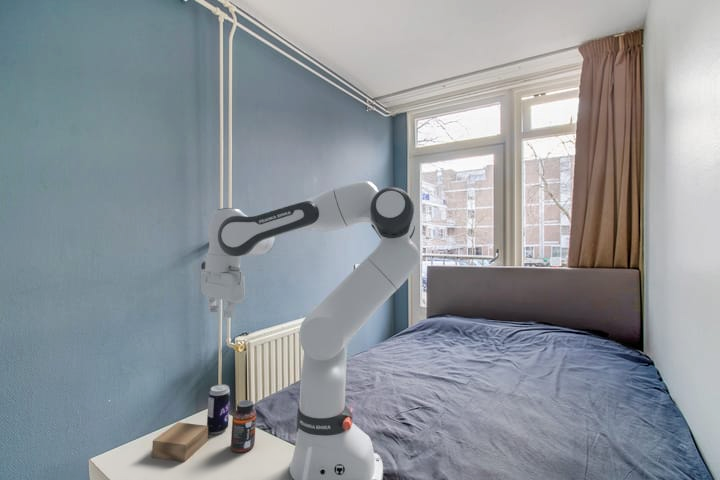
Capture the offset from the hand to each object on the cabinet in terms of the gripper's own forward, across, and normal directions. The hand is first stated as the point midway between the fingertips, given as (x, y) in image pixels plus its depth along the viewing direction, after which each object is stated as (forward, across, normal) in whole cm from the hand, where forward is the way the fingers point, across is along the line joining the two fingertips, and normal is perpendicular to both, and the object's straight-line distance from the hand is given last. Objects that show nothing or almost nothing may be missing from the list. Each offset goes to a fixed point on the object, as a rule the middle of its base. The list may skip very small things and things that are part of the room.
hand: (220, 314), depth 91 cm
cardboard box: (+34, 0, +8) cm, 35 cm away
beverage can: (+34, +3, -3) cm, 34 cm away
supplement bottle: (+34, -10, -4) cm, 35 cm away
